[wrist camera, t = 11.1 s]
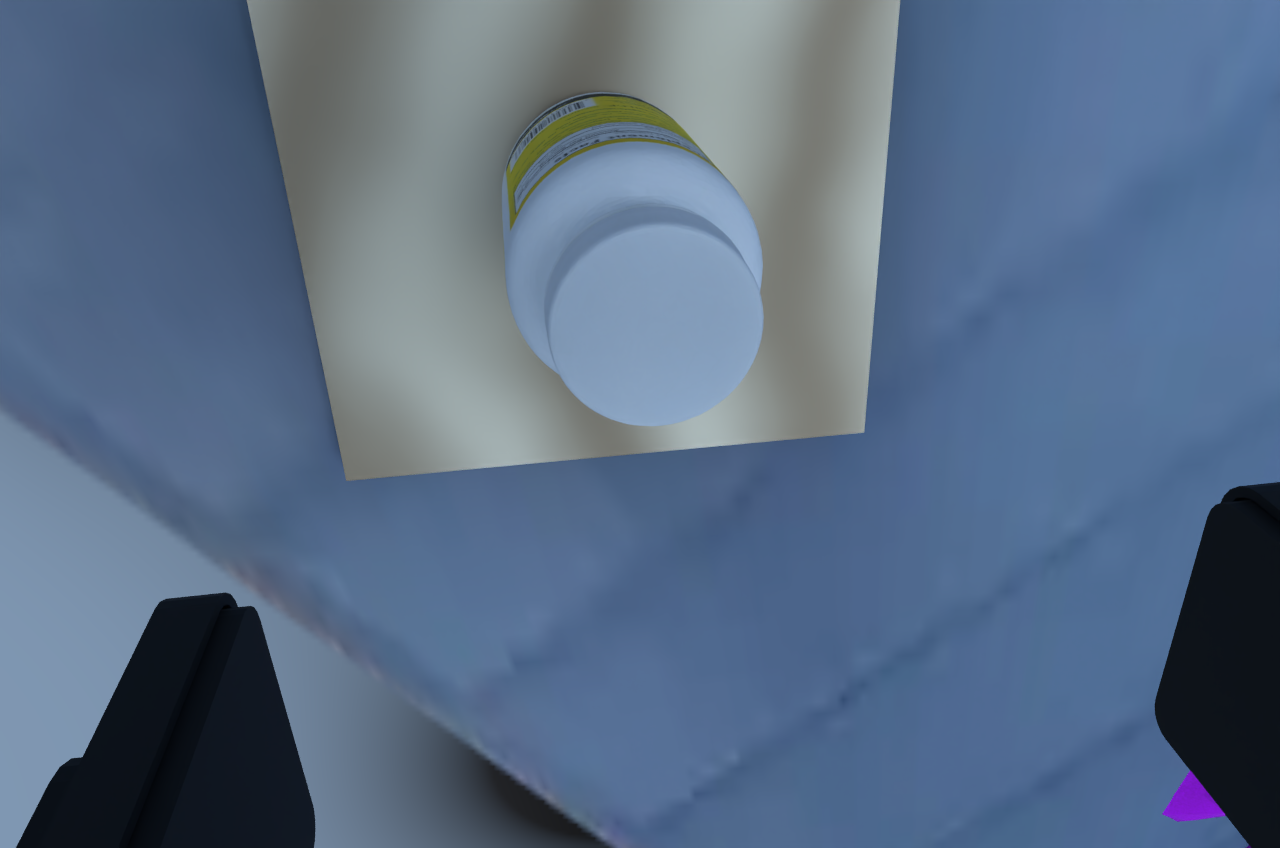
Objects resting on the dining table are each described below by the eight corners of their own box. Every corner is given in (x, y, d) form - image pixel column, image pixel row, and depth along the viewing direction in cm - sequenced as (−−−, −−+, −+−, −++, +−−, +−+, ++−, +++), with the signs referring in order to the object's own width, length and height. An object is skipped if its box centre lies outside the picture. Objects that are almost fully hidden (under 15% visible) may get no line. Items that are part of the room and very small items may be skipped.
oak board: (891, -154, 25) (913, -157, 23) (849, 410, 32) (864, 432, 31) (235, -131, 23) (219, -133, 22) (352, 456, 31) (346, 480, 29)
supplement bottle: (676, 302, 28) (753, 479, 19) (487, 269, 27) (480, 442, 18) (726, 111, 26) (839, 217, 17) (520, 65, 25) (532, 154, 16)
